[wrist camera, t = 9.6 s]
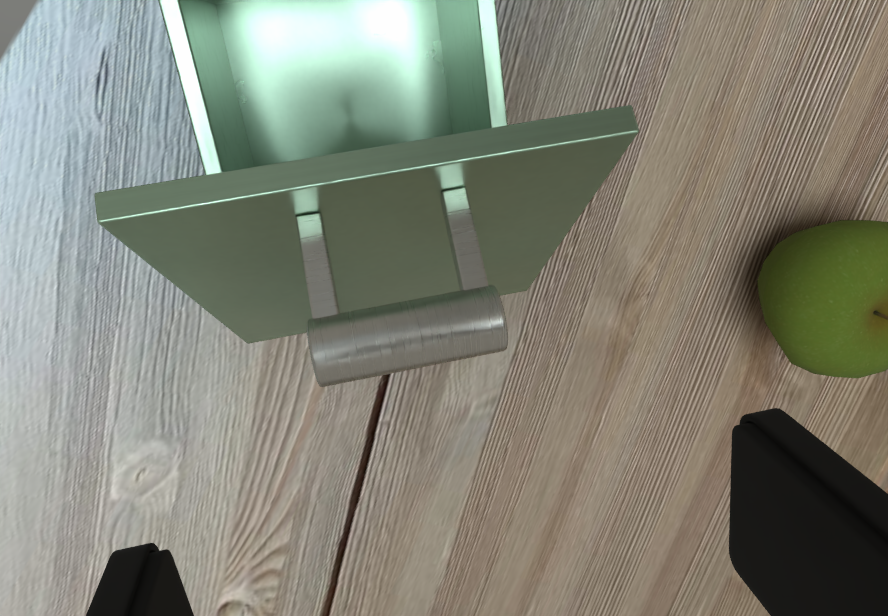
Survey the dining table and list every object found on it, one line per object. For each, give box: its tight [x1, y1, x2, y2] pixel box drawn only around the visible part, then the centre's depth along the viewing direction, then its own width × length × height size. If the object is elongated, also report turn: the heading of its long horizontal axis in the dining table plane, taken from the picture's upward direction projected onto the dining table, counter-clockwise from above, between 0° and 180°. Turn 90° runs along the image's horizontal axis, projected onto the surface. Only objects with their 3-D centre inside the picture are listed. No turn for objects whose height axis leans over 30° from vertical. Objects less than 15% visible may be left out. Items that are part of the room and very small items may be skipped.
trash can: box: [158, 0, 507, 175], centre depth 36 cm, size 16×14×12 cm
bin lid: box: [95, 105, 639, 387], centre depth 25 cm, size 16×14×5 cm
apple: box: [757, 220, 888, 378], centre depth 46 cm, size 11×10×10 cm
